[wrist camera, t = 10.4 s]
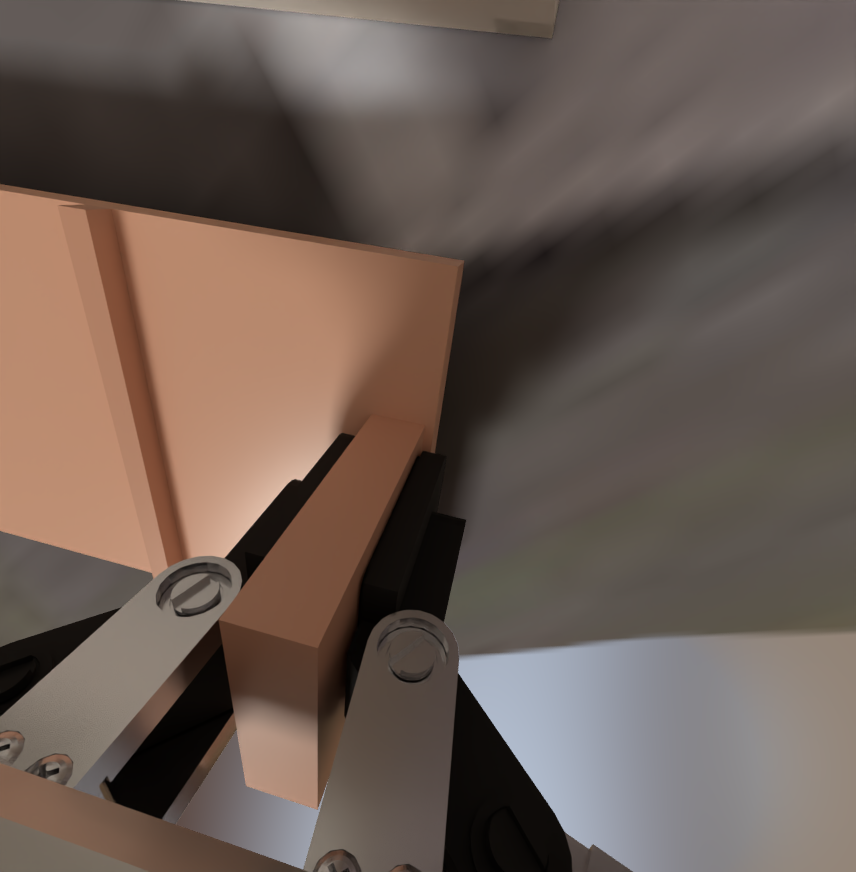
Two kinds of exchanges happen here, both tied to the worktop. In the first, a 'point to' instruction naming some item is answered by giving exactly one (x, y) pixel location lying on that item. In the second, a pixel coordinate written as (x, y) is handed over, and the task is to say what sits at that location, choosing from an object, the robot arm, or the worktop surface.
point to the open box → (429, 12)
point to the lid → (221, 425)
